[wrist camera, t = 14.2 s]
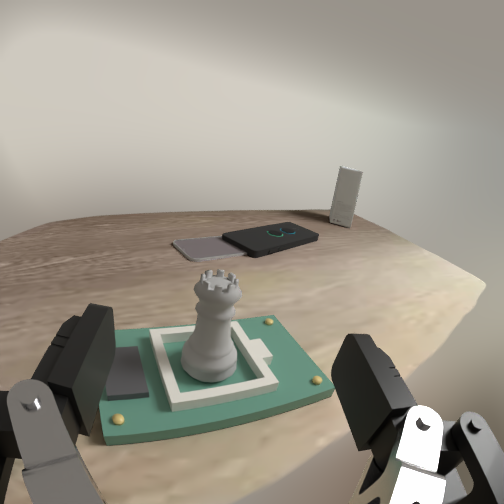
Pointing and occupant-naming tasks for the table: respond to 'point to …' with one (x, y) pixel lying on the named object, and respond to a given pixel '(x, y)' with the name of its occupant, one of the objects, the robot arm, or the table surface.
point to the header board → (204, 383)
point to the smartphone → (207, 248)
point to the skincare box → (345, 196)
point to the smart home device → (270, 238)
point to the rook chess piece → (212, 329)
